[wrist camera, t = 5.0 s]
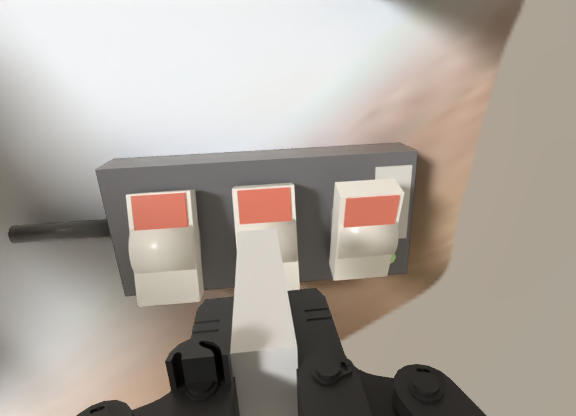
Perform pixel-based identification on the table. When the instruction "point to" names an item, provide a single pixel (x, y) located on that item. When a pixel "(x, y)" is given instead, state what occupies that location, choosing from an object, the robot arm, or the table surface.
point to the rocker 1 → (165, 247)
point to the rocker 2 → (270, 220)
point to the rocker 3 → (364, 228)
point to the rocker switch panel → (219, 203)
